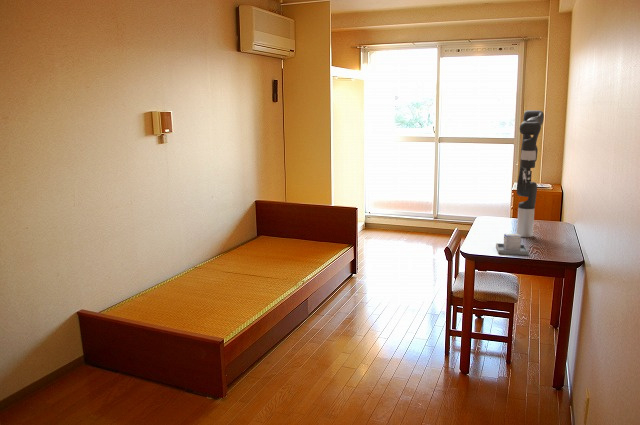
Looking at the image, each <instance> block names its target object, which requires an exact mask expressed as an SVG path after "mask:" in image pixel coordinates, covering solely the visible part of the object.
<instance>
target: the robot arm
mask: <svg viewBox="0 0 640 425" xmlns="http://www.w3.org/2000/svg"><path fill="white" fill-rule="evenodd" d="M544 116H545V115H544V111H543V110H535V109H533V110H532V109H531V110H528V109H527V110H525V111H524V113H523V118H522V122H521V123H520V125H519V133H520V134H521V135H522V137H521V138H522V140H521V148H520V159H519V160H520V161H519V162H520V163H519V172H518V176H517V177H518V178H517V183H516V184H517V185H516V194H517V196H519V197H523V198H525V197H526V198H527V200H525V201H520V202H518V206H517V207H518V208H517V220H516V222H517V224H516V234H519V235H521V238H532V237H533V234H534V221H535V208H536V202H537V200H536V199H537V192H538V185H537V183H536V181H532V172H533V171H532V170H531V169H534V168H536V162H537V160H538V150H539V149H538V146H537V141H538V138H539V134H540V133H541V129H542V125H543V123H544V119H545V118H544Z"/></svg>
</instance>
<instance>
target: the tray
mask: <svg viewBox="0 0 640 425" xmlns="http://www.w3.org/2000/svg"><path fill="white" fill-rule="evenodd" d="M503 246H504V243H497V242H496V243H495V248H496V251H497V254H498V255H507V256H508V255H509V256H527V257H529V254H530V253H529V250H528V248H527V246H526V245H525V244H521V246H520V251H512V250H504V249H503Z"/></svg>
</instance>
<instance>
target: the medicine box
mask: <svg viewBox="0 0 640 425" xmlns="http://www.w3.org/2000/svg"><path fill="white" fill-rule="evenodd" d="M503 244H504V246H503V249H504V250H512V251H520V246H521V245H522V237H521V235H519V234H517V233H504V234H503Z"/></svg>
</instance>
